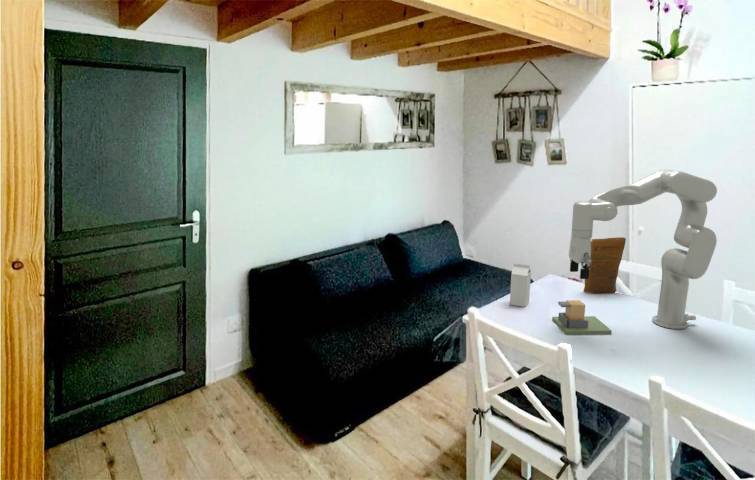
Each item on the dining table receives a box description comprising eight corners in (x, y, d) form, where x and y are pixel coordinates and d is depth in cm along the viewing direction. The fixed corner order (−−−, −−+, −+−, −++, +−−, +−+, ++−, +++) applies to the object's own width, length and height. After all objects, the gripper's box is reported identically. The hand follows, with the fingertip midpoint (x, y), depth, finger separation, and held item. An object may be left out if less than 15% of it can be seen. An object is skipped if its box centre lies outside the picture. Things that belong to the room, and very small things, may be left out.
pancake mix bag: (623, 294, 234) (629, 238, 228) (584, 294, 234) (589, 238, 228) (616, 289, 241) (622, 235, 235) (578, 290, 241) (583, 235, 235)
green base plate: (594, 319, 203) (595, 309, 202) (611, 334, 189) (612, 323, 188) (552, 320, 203) (552, 310, 202) (565, 334, 189) (566, 323, 188)
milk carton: (525, 307, 218) (527, 267, 214) (509, 304, 222) (511, 265, 217) (529, 302, 224) (531, 263, 220) (513, 300, 227) (516, 261, 223)
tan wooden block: (577, 320, 198) (579, 300, 196) (583, 326, 193) (585, 304, 191) (556, 321, 198) (557, 300, 196) (561, 326, 193) (562, 305, 191)
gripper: (563, 229, 196) (561, 269, 199) (581, 238, 179) (578, 282, 183) (582, 228, 196) (579, 268, 199) (601, 237, 179) (598, 281, 183)
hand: (578, 275), depth 191 cm, fingers open, 9 cm apart
